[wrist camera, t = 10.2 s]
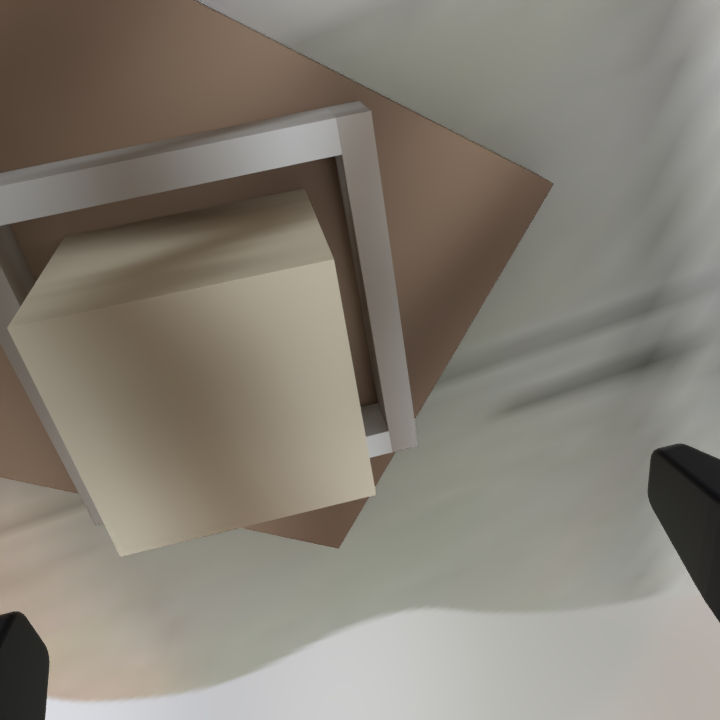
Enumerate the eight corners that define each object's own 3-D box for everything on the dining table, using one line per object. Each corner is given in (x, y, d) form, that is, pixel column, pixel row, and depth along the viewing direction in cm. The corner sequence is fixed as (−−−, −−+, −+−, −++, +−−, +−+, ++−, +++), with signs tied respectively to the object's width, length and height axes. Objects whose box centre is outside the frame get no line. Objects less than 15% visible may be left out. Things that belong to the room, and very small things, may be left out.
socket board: (538, 174, 18) (580, 199, 16) (334, 528, 24) (345, 582, 22) (5, -98, 13) (-37, -114, 11) (-102, 431, 19) (-144, 488, 16)
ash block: (304, 188, 16) (333, 259, 12) (342, 383, 19) (376, 494, 15) (64, 236, 16) (6, 327, 12) (143, 428, 19) (120, 556, 15)
